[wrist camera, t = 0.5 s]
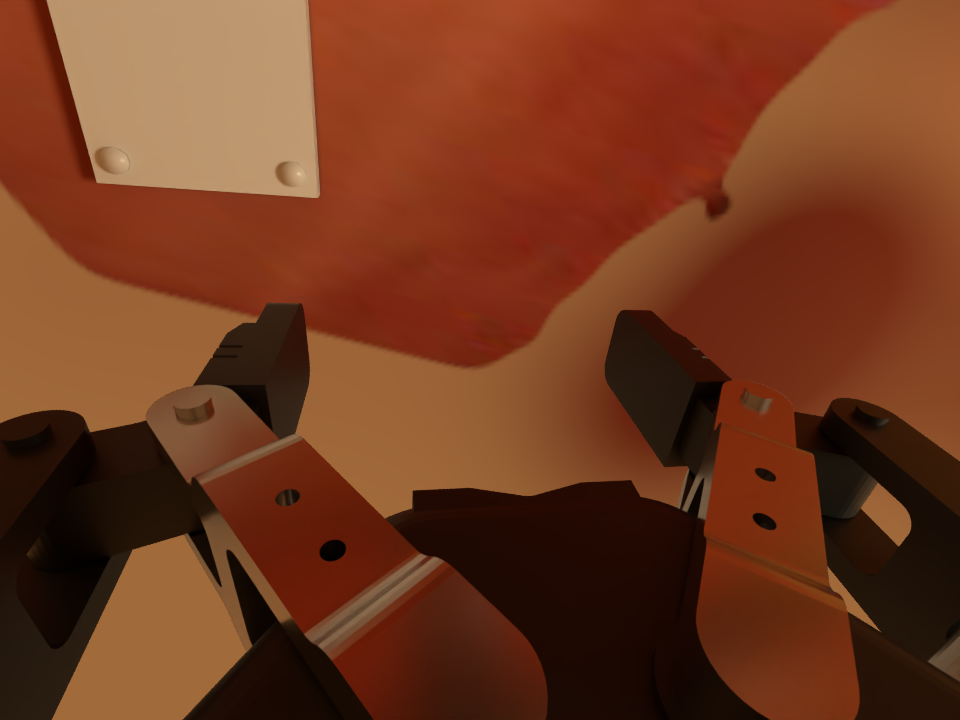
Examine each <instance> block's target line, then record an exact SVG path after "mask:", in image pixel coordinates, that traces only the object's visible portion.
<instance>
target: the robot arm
mask: <svg viewBox="0 0 960 720" xmlns="http://www.w3.org/2000/svg"><path fill="white" fill-rule="evenodd" d="M309 365H310V363H309V353H308V344H307V334H306V325H305V316H304V309H303V306H302V304H300V303H267V304H266V306H265V308H264V310H263V312H262V313H261V315H260V317H259V319H258V320H257V322H256V323H243V324H241V325H239V326H238V327H236V328H235V329H233V330H231V331H230V332H228V333H227V334H226V336H225V337H224V339H223V340H222V342H221V343H220V345H219V348H217V350H216V351H215V353H214V354H213V358H211V359H210V360H209V362H208V363H207V365H206V366H205V368H204V370H203V371H202V373H201V374H200V376H199V377H198V379H197V380H196V382H195V383H194V385H193V386H191V387H186V388H182V389H179V390H176V391H173V392H171V393H169V394H167V395H165V396H163V397H161V398H160V399H158V400H157V401H155V402H154V403H153V404H152V405H151V406H150V408H149V409H148V411H147V413H146V421H143V422H139V423H135V424H131V425H125V426H120V427H115V428H110V429H105V430H100V431H95V432H90V431H89V429H88V426H87V424H86V422H85V420H84V418H83V417H82V416H81V415H79V414H77V413H75V412H71V411H65V410H49V411H40V412H34V413H30V414H26V415H22V416H19V417H16V418H13V419H10V420H7V421H4V422H2V423H0V720H52V718H53V716H54V714H55V711H56V709H57V707H58V705H59V703H60V701H61V699H62V697H63V695H64V693H65V691H66V688H67V686H68V684H69V682H70V680H71V678H72V676H73V673H74V672H75V670H76V667H77V665H78V663H79V661H80V659H81V657H82V655H83V653H84V650H85V648H86V646H87V644H88V642H89V640H90V638H91V636H92V634H93V632H94V630H95V628H96V625H97V623H98V621H99V619H100V617H101V615H102V613H103V611H104V609H105V606H106V604H107V602H108V600H109V598H110V596H111V594H112V592H113V590H114V588H115V585H116V583H117V581H118V579H119V577H120V575H121V573H122V571H123V569H124V567H125V564H126V562H127V560H128V558H129V556H130V554H131V552H132V550H133V549H136V548H140V547H143V546H146V545H150V544H153V543H157V542H160V541H163V540H166V539H170V538H174V537H177V536H180V535H184V536H185V538H186V540H187V542H188V543H189V545H190V547H191V548H192V550H193V552H194V553H195V555H196V557H197V559H198V560H199V562H200V564H201V565H202V567H203V569H204V571H205V572H206V574H207V576H208V577H209V579H210V581H211V582H212V584H213V586H214V587H215V589H216V591H217V593H218V594H219V596H220V598H221V599H222V601H223V603H224V605H225V607H226V609H227V611H228V613H229V615H230V617H231V620H232V622H233V625H234V627H235V629H236V632H237V634H238V636H239V638H240V640H241V642H242V644H243V646H244V648H245V650H246V653H245V654H244V656H243V657H241V659H240V660H239V661H238V662H237V663H236V664H235V665H234V666H233V667H232V668H231V669H230V670H229V671H228V672H227V674H226V675H225V676H224V677H223V678H222V679H221V680H220V681H219V682H218V683H217V684H216V685H215V686H214V687H213V688H212V689H211V690H210V691H209V692H208V694H207V695H206V696H205V697H204V698H203V699H202V700H201V701H200V702H199V703H198V704H197V705H196V706H195V707H194V708H193V709H192V710H191V712H190V713H189V714H188V715H187V716H186V717H185V718H184V719H183V720H960V461H958V460H957V459H956V458H954V457H953V456H951V455H950V454H949V453H947V452H946V451H945V450H943V449H942V448H940V447H939V446H937V445H936V444H935V443H934V442H932V441H931V440H929V439H928V438H927V437H925V436H924V435H922V434H921V433H920V432H918V431H917V430H916V429H914V428H913V427H911V426H910V425H909V424H907V423H906V422H905V421H903V420H902V419H900V418H899V417H898V416H896V415H895V414H893V413H891V412H889V411H887V410H885V409H883V408H881V407H879V406H876V405H874V404H871V403H868V402H865V401H861V400H857V399H851V398H838V399H835V400H833V401H832V402H831V404H830V405H829V407H828V409H827V411H826V413H825V414H824V416H823V417H821V416H816V415H810V414H804V413H798V412H794V408H793V405H792V404H791V402H790V401H789V400H788V399H787V398H786V397H785V396H783V395H782V394H780V393H779V392H777V391H775V390H774V389H771V388H769V387H767V386H765V385H762V384H759V383H755V382H751V381H746V380H732V379H731V378H730V377H728V376H727V375H726V374H725V373H724V372H723V371H722V370H721V369H720V368H719V367H717V366H716V365H715V364H714V363H713V362H712V361H711V360H710V359H707V358H706V356H705V355H704V354H703V353H702V352H701V351H700V350H697V347H696V346H695V345H693V344H692V343H691V342H690V341H689V340H688V339H687V338H686V337H684V336H682V335H680V334H678V333H676V332H674V331H673V330H672V329H671V328H669V327H668V326H667V325H666V324H665V323H664V322H663V321H662V320H661V319H660V318H659V317H658V316H656V314H654V313H653V312H652V311H647V310H644V311H643V310H622V311H621V312H620V313H619V314H618V316H617V319H616V322H615V326H614V330H613V334H612V338H611V342H610V346H609V350H608V353H607V358H606V362H605V377H606V381H607V383H608V385H609V387H610V388H611V389H612V391H613V392H614V394H615V395H616V397H617V398H618V399H619V401H620V402H621V404H622V406H623V407H624V409H625V410H626V411H627V413H628V414H629V416H630V417H631V419H632V420H633V422H634V423H635V424H636V426H637V428H638V429H639V430H640V432H641V433H642V435H643V436H644V438H645V439H646V441H647V442H648V444H649V445H650V446H651V448H652V449H653V451H654V453H655V454H656V455H657V457H658V458H659V460H660V461H661V463H662V464H663V466H664V467H674V466H688V467H689V469H688V472H687V474H686V476H685V479H684V482H683V486H682V490H681V494H680V498H679V503H678V507H677V508H676V507H674V506H671V505H669V504H666V503H663V502H660V501H656V500H652V499H648V498H643V497H640V495H639V493H638V492H637V490H636V488H635V486H634V485H633V483H632V481H631V480H626V481H605V482H584V483H578V484H574V485H570V486H567V487H563V488H560V489H556V490H552V491H549V492H545V493H542V494H538V495H534V496H521V495H514V494H508V493H500V492H494V491H487V490H480V489H474V488H460V489H459V488H458V489H437V490H416V491H413V500H412V501H413V502H412V509H409V510H406V511H402V512H400V513H397V514H394V515H392V516H389V517H387V518H384V517H383V516H382V515H381V514H380V513H378V511H376V510H375V509H374V508H373V507H372V506H371V505H370V504H369V503H368V502H367V501H366V500H365V499H364V498H363V497H362V496H361V495H360V494H359V493H358V492H357V491H356V490H355V489H354V488H353V487H352V486H351V485H350V484H349V483H348V482H347V481H346V480H345V479H344V478H343V477H342V476H341V475H340V474H339V473H338V472H337V471H336V470H335V469H334V468H333V467H332V466H331V465H330V464H329V463H328V462H327V461H326V460H325V459H324V458H323V457H322V456H321V455H320V454H319V453H318V452H317V451H316V450H315V449H314V448H313V447H312V446H311V445H310V444H309V443H308V442H306V440H305V439H304V438H302V437H301V436H300V435H298V434H296V433H295V432H296V429H297V425H298V421H299V418H300V414H301V411H302V407H303V404H304V400H305V396H306V393H307V389H308V385H309V377H310V366H309ZM877 483H879V484H880V485H882V486H883V487H884V488H885V489H886V490H887V491H888V492H889V493H890V494H891V495H893V496H894V497H895V498H896V499H897V500H898V501H899V502H900V503H901V504H902V505H903V506H904V507H905V508H906V509H907V511H908V513H909V515H910V518H911V525H912V526H911V531H910V533H909V535H908V536H907V537H906V538H905V540H904V541H903V542H902V544H901V545H900V546H899V547H898V546H897V545H896V544H895V543H894V542H893V541H892V539H890V537H889V536H888V535H887V534H886V533H884V532H883V531H882V530H881V529H880V527H879V526H878V525H876V523H875V522H874V521H872V519H871V518H870V517H869V516H868V515H867V514H865V512H864V511H863V510H862V509H861V507H862V505H863V504H864V502H865V501H866V500H867V498H868V497H869V495H870V494H871V492H872V491H873V489H874V488H875V486H876V485H877ZM827 566H828V567H829V568H830V570H831V571H832V572H833V573H834V574H835V576H836V577H837V578H838V579H839V581H840V582H841V583H842V584H843V586H844V587H845V588H846V589H847V591H848V592H849V593H850V594H851V595H852V597H853V598H854V599H855V600H856V602H857V603H858V604H859V605H860V607H861V608H862V609H863V610H864V612H865V613H866V614H867V615H868V616H869V618H870V619H871V620H872V621H873V623H874V624H875V625H876V626H877V628H878V629H879V630H880V631H881V632H880V631H878V630H876V629H875V628H873V627H872V626H870V625H868V624H867V623H865V622H864V621H862V620H860V619H859V618H857V617H856V616H854V615H852V614H851V613H849V612H848V611H847V607H846V604H845V601H844V599H843V598H842V596H841V595H840V594H838V593H836V592H834V591H833V590H832V589H831V586H830V583H829V576H828V567H827Z"/></svg>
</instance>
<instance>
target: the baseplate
mask: <svg viewBox="0 0 960 720" xmlns="http://www.w3.org/2000/svg"><path fill="white" fill-rule="evenodd" d="M47 3H48V7H49V11H50V14H51V18H52V22H53V25H54V29H55V32H56V36H57V40H58V43H59V47H60V51H61V54H62V58H63V61H64V65H65V69H66V72H67V76H68V80H69V83H70V87H71V90H72V94H73V98H74V101H75V105H76V109H77V112H78V116H79V120H80V123H81V127H82V130H83V134H84V138H85V141H86V145H87V149H88V152H89V156H90V159H91V163H92V167H93V170H94V174H95V178H96V181H97V183H107V184H122V185H136V186H151V187H165V188H180V189H195V190H209V191H224V192H238V193H253V194H268V195H282V196H297V197H311V198H318V197H319V195H320V186H319V170H318V154H317V137H316V121H315V105H314V89H313V72H312V56H311V40H310V24H309V7H308V0H47Z"/></svg>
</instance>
